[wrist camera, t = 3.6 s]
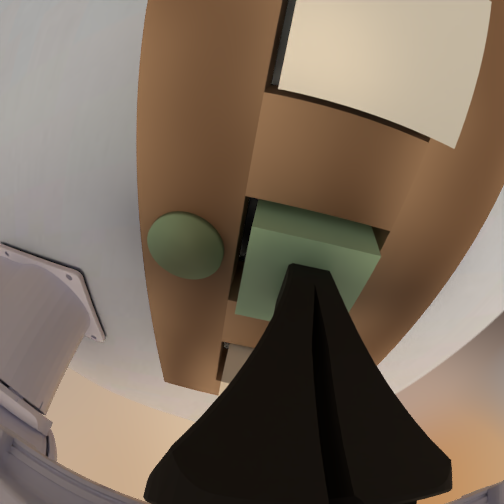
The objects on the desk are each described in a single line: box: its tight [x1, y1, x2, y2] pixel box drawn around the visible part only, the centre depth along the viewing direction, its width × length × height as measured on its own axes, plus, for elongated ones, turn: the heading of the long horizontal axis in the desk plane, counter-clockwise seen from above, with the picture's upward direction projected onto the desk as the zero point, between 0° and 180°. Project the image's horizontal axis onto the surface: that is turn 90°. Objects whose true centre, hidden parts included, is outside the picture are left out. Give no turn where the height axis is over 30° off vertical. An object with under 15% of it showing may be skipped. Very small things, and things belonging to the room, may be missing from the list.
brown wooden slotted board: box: [137, 0, 504, 395], centre depth 11 cm, size 12×26×3 cm, turn 171°
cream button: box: [218, 343, 254, 397], centre depth 15 cm, size 4×4×3 cm
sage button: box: [235, 199, 381, 321], centre depth 11 cm, size 4×4×3 cm
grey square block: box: [278, 0, 492, 149], centre depth 5 cm, size 4×4×3 cm
